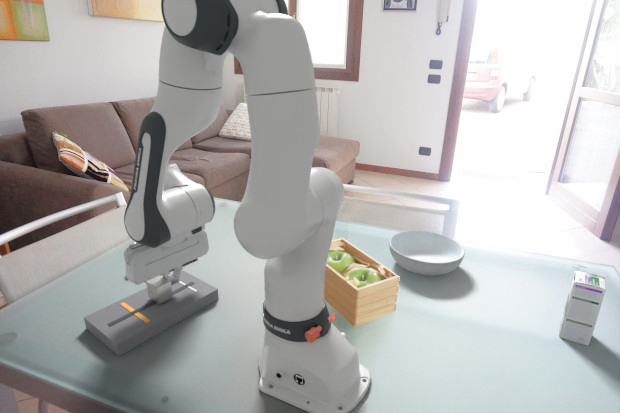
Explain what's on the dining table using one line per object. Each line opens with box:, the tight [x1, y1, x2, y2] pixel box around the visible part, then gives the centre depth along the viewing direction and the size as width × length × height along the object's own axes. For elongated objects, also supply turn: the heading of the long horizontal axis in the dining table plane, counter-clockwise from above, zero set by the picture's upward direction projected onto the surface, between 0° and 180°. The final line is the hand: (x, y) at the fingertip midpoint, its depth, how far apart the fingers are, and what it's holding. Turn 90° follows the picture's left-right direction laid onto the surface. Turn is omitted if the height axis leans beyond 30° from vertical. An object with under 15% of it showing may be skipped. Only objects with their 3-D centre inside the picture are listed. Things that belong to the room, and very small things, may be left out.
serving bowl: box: [388, 229, 465, 276], centre depth 118 cm, size 21×21×7 cm
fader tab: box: [146, 275, 173, 304], centre depth 96 cm, size 4×4×4 cm
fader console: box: [83, 270, 220, 357], centre depth 96 cm, size 14×26×3 cm, turn 142°
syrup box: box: [559, 270, 606, 347], centre depth 89 cm, size 6×6×14 cm
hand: (172, 283), depth 99 cm, fingers closed
